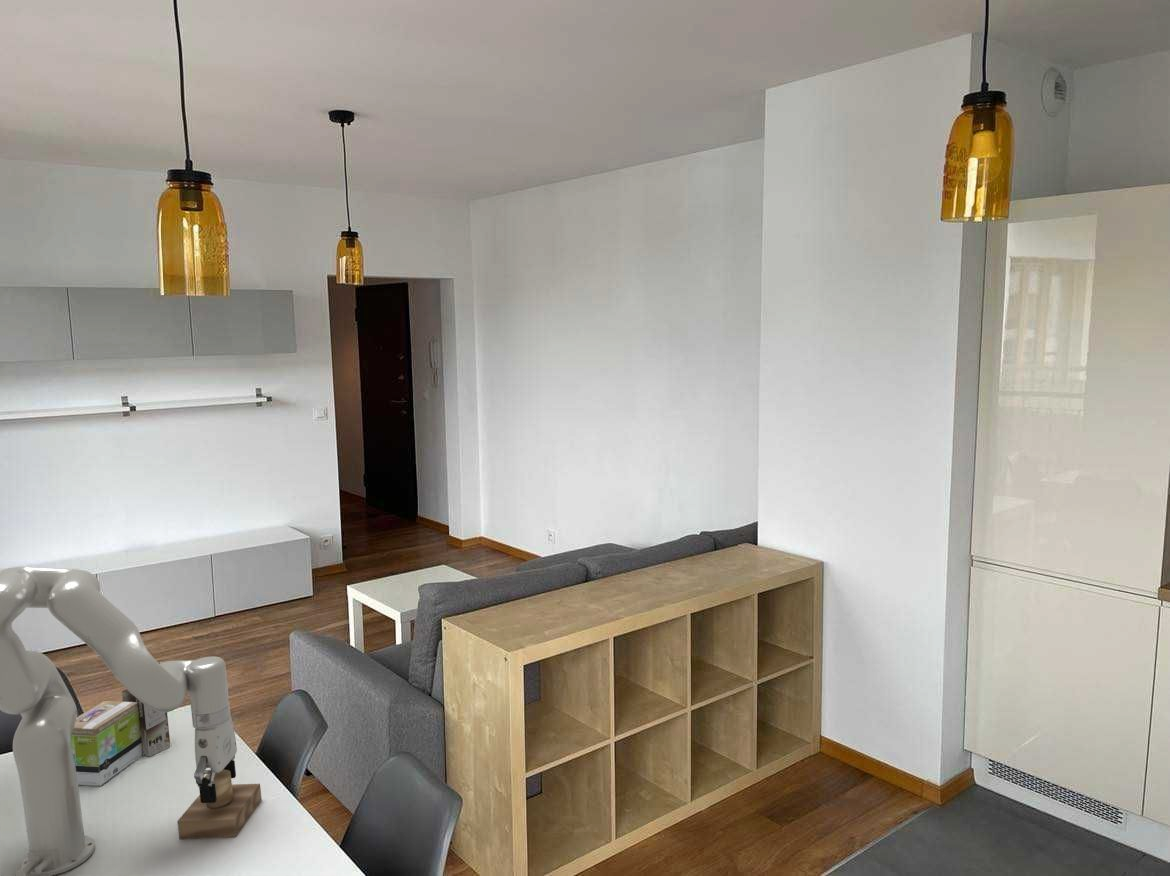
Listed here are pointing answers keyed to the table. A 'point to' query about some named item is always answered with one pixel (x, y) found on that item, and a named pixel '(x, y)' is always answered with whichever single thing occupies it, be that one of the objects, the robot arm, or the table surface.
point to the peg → (222, 789)
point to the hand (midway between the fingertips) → (218, 789)
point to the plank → (220, 815)
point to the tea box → (105, 741)
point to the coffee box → (150, 727)
